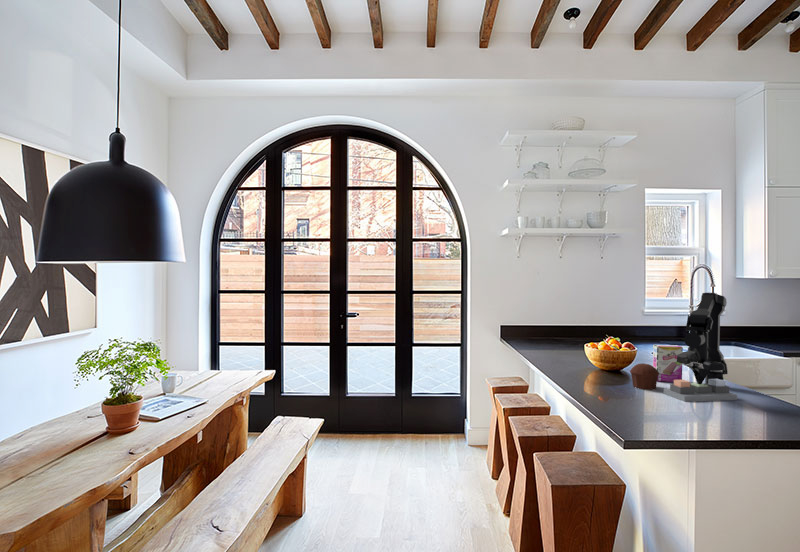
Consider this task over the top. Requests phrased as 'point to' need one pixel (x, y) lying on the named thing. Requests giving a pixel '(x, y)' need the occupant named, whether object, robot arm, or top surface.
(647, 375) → the muffin
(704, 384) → the sage button
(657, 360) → the candy bar box
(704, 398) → the button panel
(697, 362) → the robot arm
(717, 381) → the slate button
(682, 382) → the terracotta button
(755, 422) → the top surface
